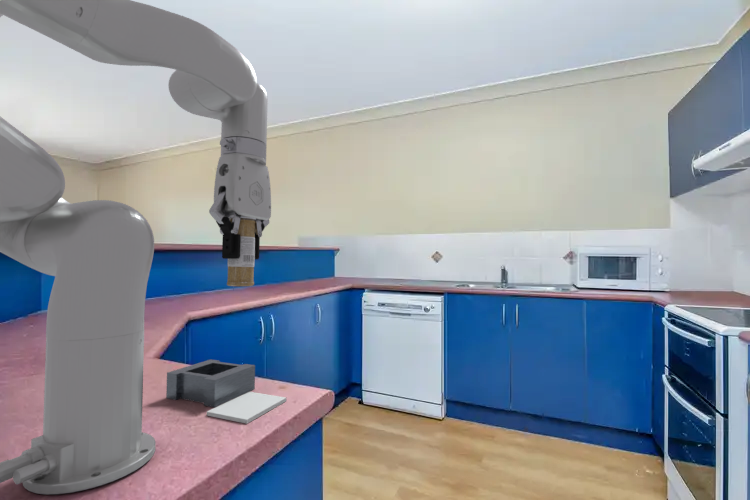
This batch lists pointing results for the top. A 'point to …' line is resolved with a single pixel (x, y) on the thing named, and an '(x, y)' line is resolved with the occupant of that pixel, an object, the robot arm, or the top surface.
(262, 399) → the rubber pad
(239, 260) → the sprinkles bottle
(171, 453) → the top surface
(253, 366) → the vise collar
